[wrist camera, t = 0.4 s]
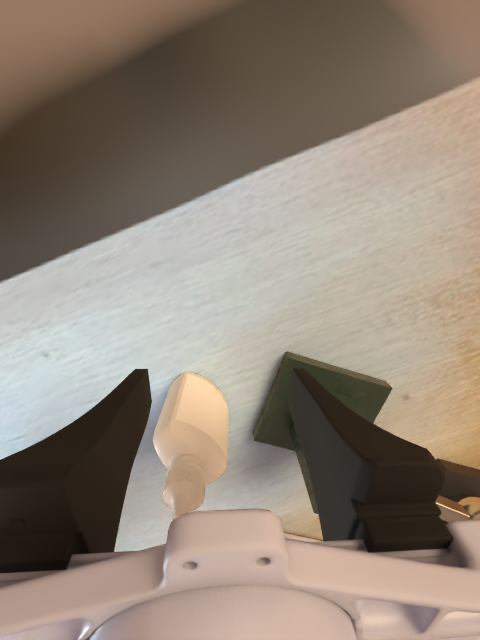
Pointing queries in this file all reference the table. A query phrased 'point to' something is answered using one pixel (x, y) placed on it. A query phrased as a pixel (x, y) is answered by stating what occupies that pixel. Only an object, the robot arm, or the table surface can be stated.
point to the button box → (459, 482)
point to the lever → (459, 509)
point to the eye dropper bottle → (191, 441)
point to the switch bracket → (341, 383)
